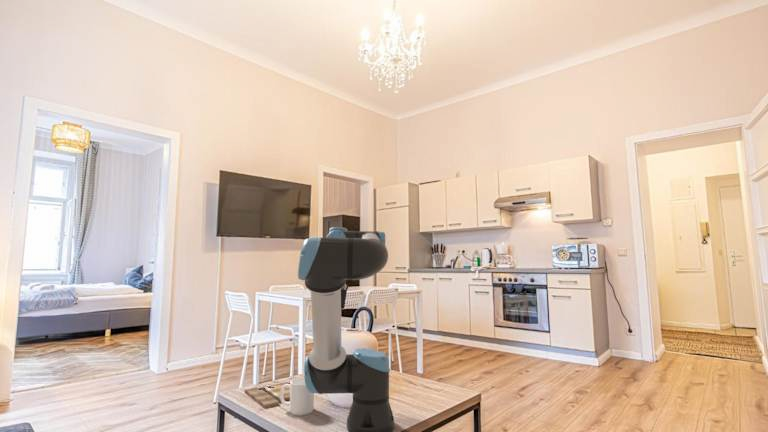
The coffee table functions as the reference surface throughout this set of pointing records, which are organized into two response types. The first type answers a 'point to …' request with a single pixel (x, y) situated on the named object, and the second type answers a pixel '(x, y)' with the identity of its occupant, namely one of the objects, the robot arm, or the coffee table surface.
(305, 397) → the cup
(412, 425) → the coffee table surface
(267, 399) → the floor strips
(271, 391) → the plank
